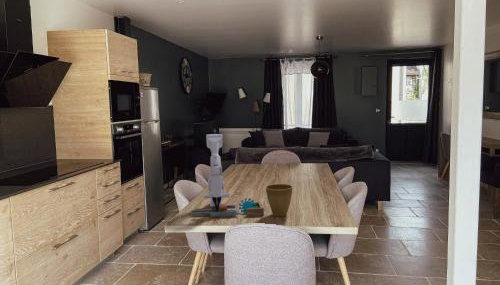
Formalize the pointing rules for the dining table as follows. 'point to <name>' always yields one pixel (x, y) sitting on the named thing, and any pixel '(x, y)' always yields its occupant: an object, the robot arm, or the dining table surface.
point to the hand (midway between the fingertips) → (217, 210)
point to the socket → (215, 214)
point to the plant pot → (279, 198)
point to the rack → (256, 210)
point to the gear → (247, 205)
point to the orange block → (224, 208)
